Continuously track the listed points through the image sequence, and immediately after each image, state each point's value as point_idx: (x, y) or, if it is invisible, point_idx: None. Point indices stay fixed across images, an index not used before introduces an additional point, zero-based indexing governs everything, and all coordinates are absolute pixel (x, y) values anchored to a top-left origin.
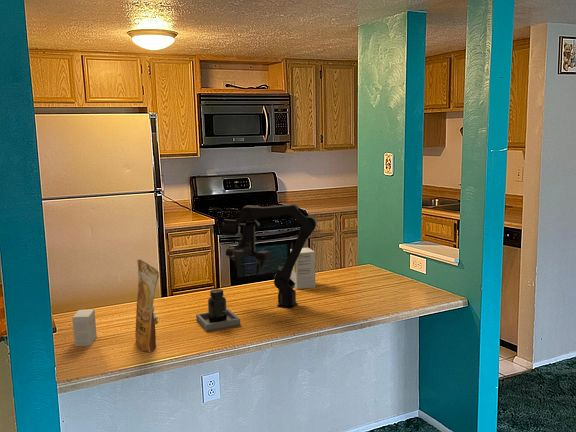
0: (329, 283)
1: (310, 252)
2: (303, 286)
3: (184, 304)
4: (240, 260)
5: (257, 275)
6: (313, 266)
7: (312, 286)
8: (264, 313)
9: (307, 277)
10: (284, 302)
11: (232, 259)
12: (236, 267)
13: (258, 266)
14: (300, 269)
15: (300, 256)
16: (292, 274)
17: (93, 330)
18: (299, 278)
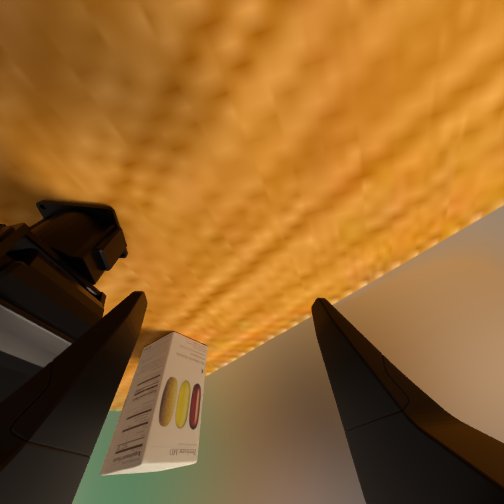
0: (135, 364)
1: (109, 471)
2: (160, 342)
3: (499, 120)
4: (345, 418)
5: (135, 291)
6: (125, 408)
7: (147, 347)
8: (86, 92)
9: (146, 369)
10: (62, 216)
11: (476, 436)
12: (353, 332)
13: (21, 395)
14: (151, 392)
15: (135, 449)
16: (192, 370)
17: None
18: (161, 361)
